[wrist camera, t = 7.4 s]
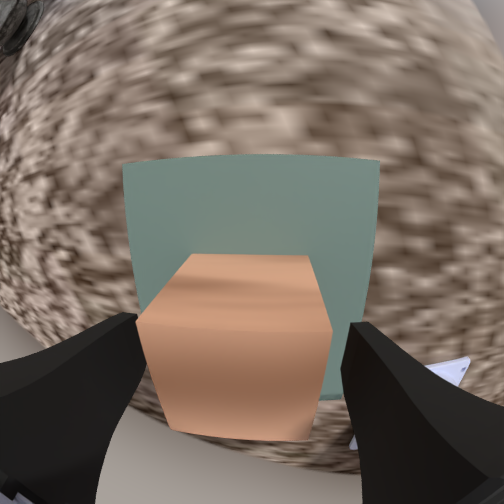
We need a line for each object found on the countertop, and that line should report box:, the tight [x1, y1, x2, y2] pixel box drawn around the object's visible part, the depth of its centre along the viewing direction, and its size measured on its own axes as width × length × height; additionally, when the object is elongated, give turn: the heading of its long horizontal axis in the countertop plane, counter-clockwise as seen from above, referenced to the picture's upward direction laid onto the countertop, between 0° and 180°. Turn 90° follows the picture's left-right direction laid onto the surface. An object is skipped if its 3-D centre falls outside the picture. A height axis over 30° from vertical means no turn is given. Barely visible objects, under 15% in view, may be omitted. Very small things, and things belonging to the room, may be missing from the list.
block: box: [136, 254, 333, 441], centre depth 9 cm, size 4×4×5 cm
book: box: [122, 154, 380, 401], centre depth 12 cm, size 12×10×2 cm
